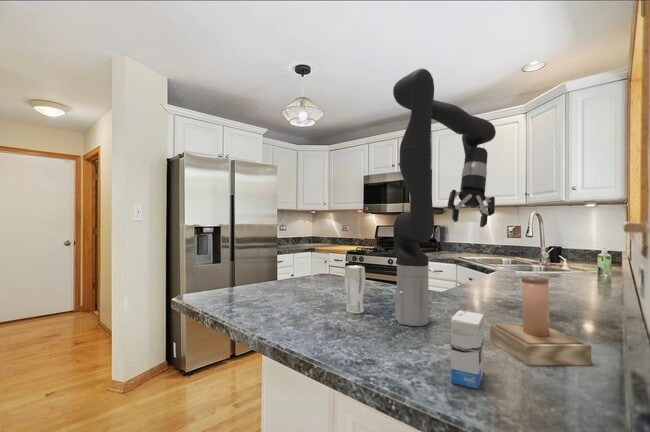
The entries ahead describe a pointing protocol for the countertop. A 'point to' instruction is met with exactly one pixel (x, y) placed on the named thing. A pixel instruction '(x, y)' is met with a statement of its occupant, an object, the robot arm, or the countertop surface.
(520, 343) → the base block
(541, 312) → the canister
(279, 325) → the countertop surface
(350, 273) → the beer glass
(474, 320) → the ink box
